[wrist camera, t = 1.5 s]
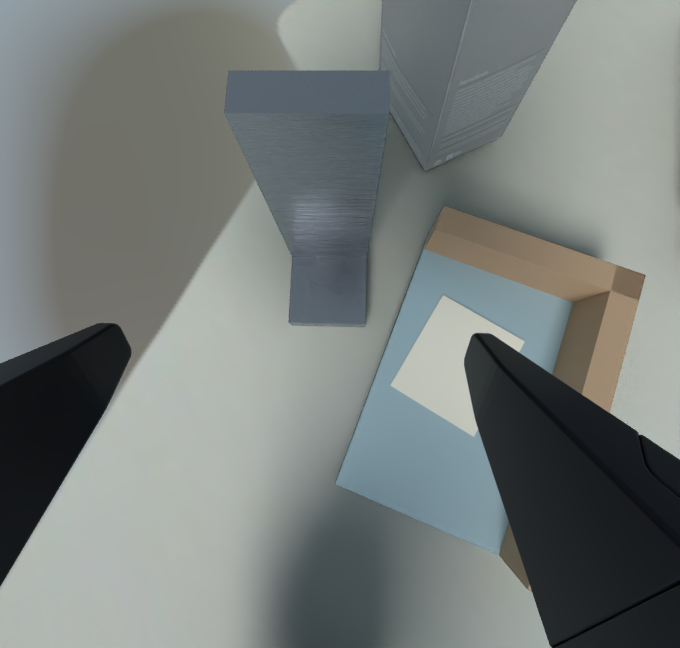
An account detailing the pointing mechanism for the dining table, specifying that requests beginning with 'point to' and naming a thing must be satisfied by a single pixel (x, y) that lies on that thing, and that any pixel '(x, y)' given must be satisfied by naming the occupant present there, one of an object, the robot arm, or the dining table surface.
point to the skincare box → (462, 67)
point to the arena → (450, 378)
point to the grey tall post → (316, 176)
